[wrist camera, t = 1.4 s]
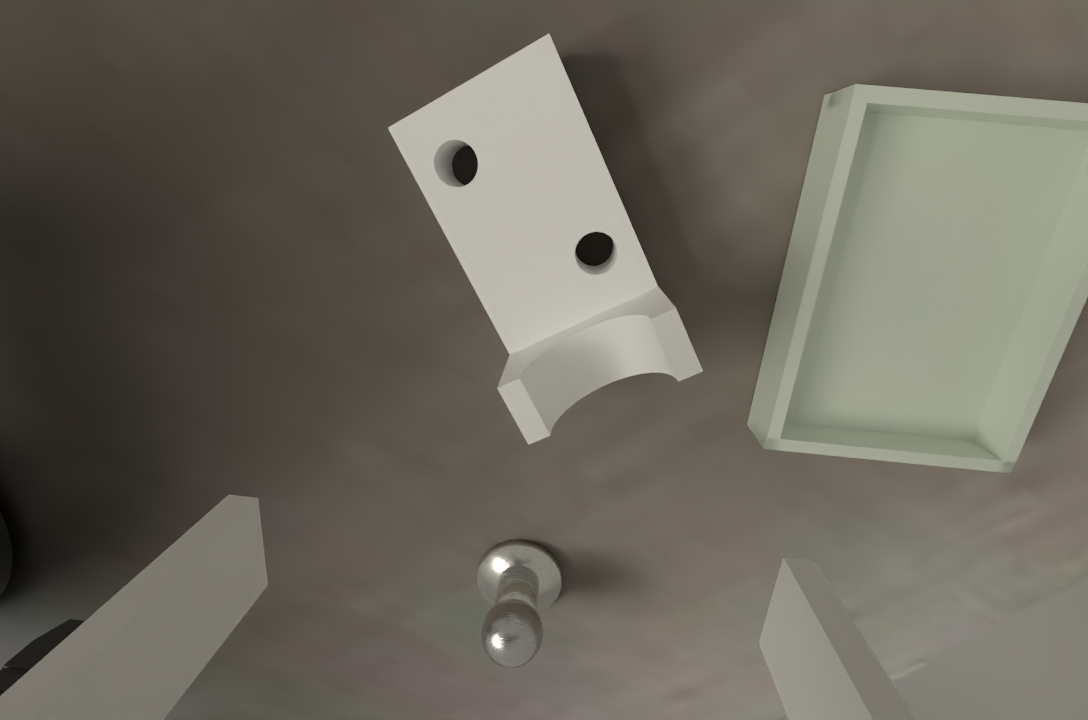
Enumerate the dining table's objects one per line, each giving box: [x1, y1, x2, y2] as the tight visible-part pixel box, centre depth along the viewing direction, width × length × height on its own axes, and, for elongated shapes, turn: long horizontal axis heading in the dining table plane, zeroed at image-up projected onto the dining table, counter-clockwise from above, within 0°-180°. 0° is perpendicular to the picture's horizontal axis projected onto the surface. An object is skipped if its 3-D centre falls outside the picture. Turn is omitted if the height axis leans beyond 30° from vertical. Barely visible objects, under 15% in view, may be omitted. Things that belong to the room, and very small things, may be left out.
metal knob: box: [477, 540, 562, 668], centre depth 28 cm, size 5×5×6 cm
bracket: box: [388, 34, 703, 445], centre depth 21 cm, size 13×7×8 cm, turn 26°
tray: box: [747, 84, 1088, 473], centre depth 23 cm, size 12×16×3 cm
